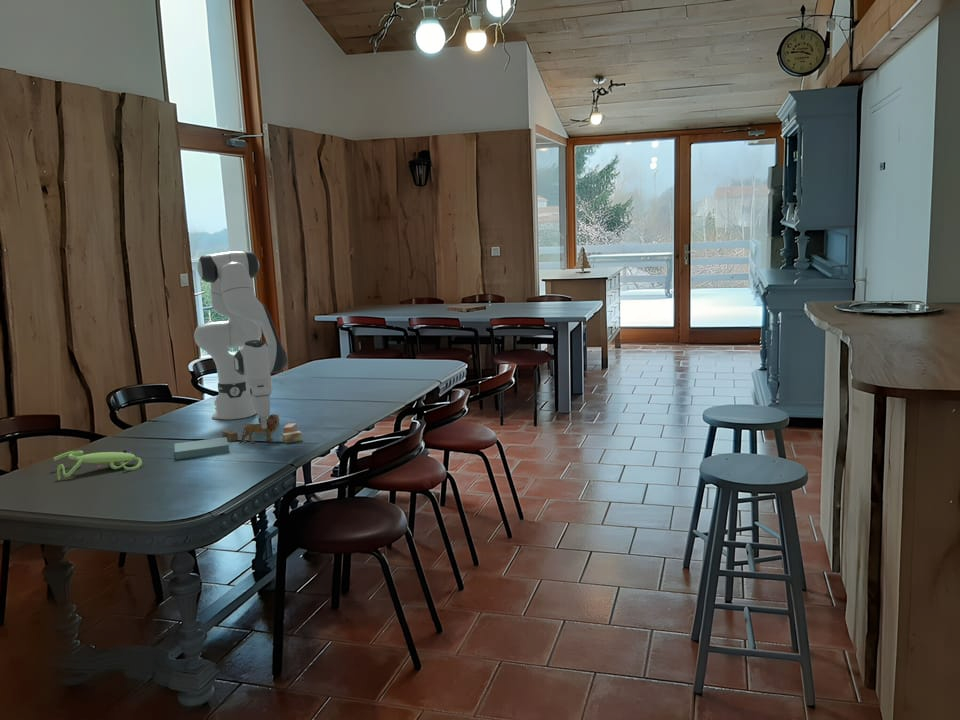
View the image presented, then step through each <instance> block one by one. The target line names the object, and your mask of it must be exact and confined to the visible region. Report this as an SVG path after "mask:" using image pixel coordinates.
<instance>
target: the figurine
mask: <svg viewBox="0 0 960 720" xmlns="http://www.w3.org/2000/svg"><path fill="white" fill-rule="evenodd" d="M65 457H68V459H70V460H75V461H77V462H76V463H75V465H73V467H72V468H71V469H70V470H69V471H68V472H67V473H66V470H65V466H64V464H63V463H61V464H58V465H57V470H56V474H57V480H58V481H61V472H62V475H63V477H64V478H68V477H70V476H72V475H73V474H74V472H75V471H77V469H78V468H80V466H81V465H82V464H83V463H85V464H100V465H98V466H97V468H98V469H100V468H101V467H103V466H105V465H107V464H109V467H110V468H111V469H113V470H119V469H120V468H123V469H124V470H126V471H129V472H130V471H135V470H137V469H140V468H141V467H142V464H143V461H142V459H141V458H140V457H138V456H136V455H135V454H134V453H133V451H132V450H125V449H124V450H122V451H120V452H119V451H107V452H106V451H105V452H103V451H102V452H101V451H100V452H92V453H88V454H87V453H85V454H84V451H83V450H71V451H67V452H64V453H61V454H59V455H57V456H53V461H54V462H55V461H57V460H60V459H62V458H65ZM135 460H136V461H137V465H135V466H130V467H129V466H126V464H128V463H129V462H131V461H135ZM119 464H120V465H119ZM118 465H119V466H118ZM61 470H62V471H61Z"/></svg>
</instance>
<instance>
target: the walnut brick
mask: <svg viewBox="0 0 960 720" xmlns="http://www.w3.org/2000/svg"><path fill="white" fill-rule="evenodd" d="M222 437H226V438H227V441H228V442H235V441H239V432H238V431H235V430H231V429H227V430H222V431H221V438H222Z"/></svg>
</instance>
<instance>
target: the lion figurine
mask: <svg viewBox="0 0 960 720" xmlns="http://www.w3.org/2000/svg"><path fill="white" fill-rule="evenodd" d="M279 425H280V418H279V415H278V414H276V413H270V416H269V417H267V428H265V429H262V427H261V423H248V424H246V425H245V426H244V427H243V429H242V432H241V433H242V434H241V439H240V440H239V442H238V444H242V443H247V442H248V441H247V440H246V438H248V440H249V442H250V443H251V444H256V441H254V440H253V436H254V433H255V434H256V435H257V434H258V435H261V434H262V435H263V434H264V435H265V439H266V440H267V441H269V442H273V441H274V440H273V438H272V433H273V432H275V431H276V430H277V428H278V426H279Z"/></svg>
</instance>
